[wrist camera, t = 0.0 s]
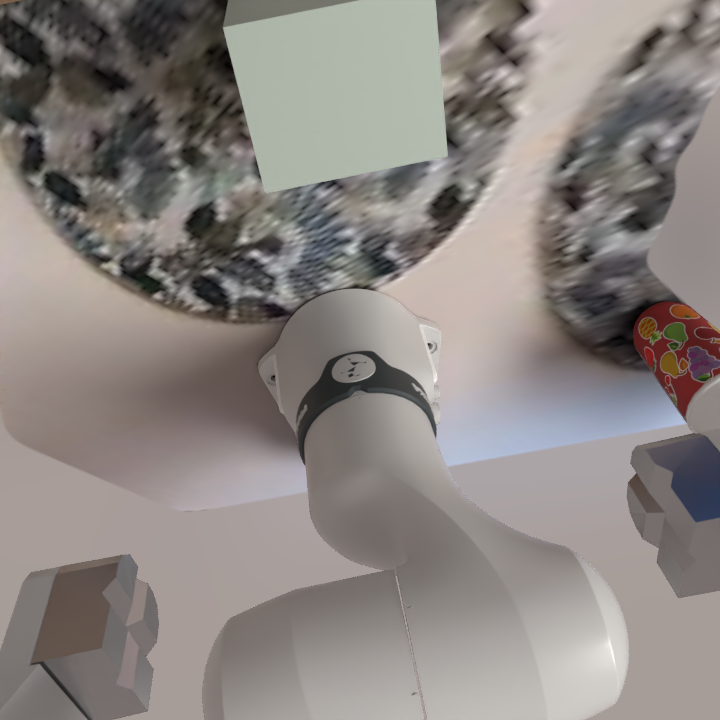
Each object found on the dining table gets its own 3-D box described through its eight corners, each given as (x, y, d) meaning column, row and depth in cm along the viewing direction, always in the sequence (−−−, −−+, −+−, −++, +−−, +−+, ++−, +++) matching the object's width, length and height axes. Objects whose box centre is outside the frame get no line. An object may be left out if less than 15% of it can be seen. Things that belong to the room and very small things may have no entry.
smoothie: (645, 367, 74) (753, 501, 58) (605, 328, 70) (710, 460, 54) (710, 318, 71) (842, 445, 55) (672, 274, 67) (804, 398, 51)
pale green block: (396, 84, 53) (447, 156, 39) (261, 111, 53) (265, 193, 39) (381, -46, 48) (434, -15, 34) (231, -16, 47) (222, 27, 34)
